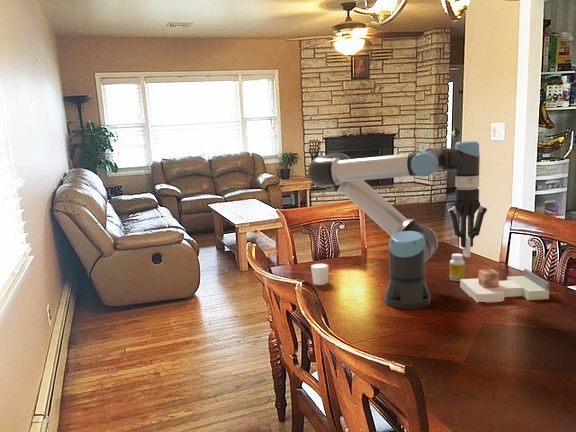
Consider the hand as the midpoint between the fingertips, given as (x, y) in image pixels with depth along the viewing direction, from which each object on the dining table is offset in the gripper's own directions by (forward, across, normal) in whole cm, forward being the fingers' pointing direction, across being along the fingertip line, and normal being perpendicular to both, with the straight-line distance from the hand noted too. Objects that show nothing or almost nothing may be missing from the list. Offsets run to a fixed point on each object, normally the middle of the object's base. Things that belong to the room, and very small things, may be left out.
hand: (466, 256), depth 171 cm
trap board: (+14, +13, 0) cm, 19 cm away
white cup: (+14, -49, +22) cm, 56 cm away
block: (+11, +8, 0) cm, 14 cm away
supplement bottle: (+14, +3, +17) cm, 23 cm away
